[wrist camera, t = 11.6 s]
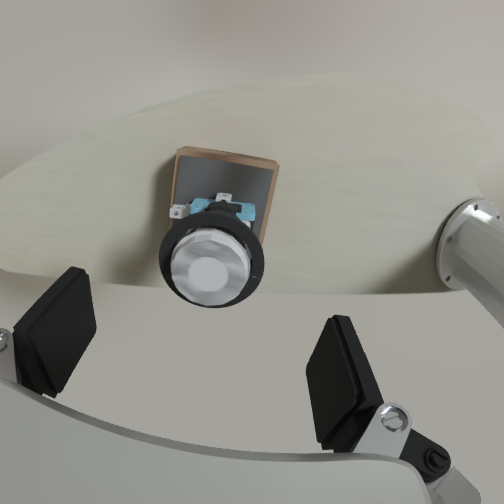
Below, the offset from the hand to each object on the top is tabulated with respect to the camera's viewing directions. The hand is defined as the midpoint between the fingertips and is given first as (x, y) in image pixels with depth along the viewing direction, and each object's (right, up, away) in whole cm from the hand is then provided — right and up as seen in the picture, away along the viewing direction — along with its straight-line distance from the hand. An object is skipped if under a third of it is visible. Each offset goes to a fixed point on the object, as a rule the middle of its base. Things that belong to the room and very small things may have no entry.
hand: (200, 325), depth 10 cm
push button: (-1, +6, +12) cm, 14 cm away
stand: (-1, +7, +15) cm, 17 cm away
